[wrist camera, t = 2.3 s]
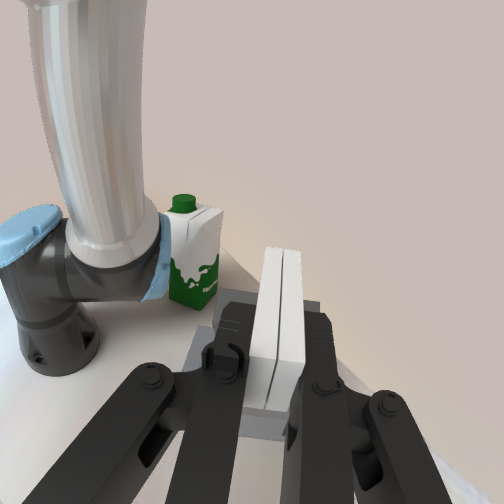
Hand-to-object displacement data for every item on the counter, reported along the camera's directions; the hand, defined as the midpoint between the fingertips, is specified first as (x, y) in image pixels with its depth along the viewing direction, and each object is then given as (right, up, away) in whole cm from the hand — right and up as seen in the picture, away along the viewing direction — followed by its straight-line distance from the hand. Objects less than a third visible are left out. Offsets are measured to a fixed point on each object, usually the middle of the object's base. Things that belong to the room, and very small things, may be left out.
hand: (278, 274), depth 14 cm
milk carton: (-13, -8, +46) cm, 48 cm away
